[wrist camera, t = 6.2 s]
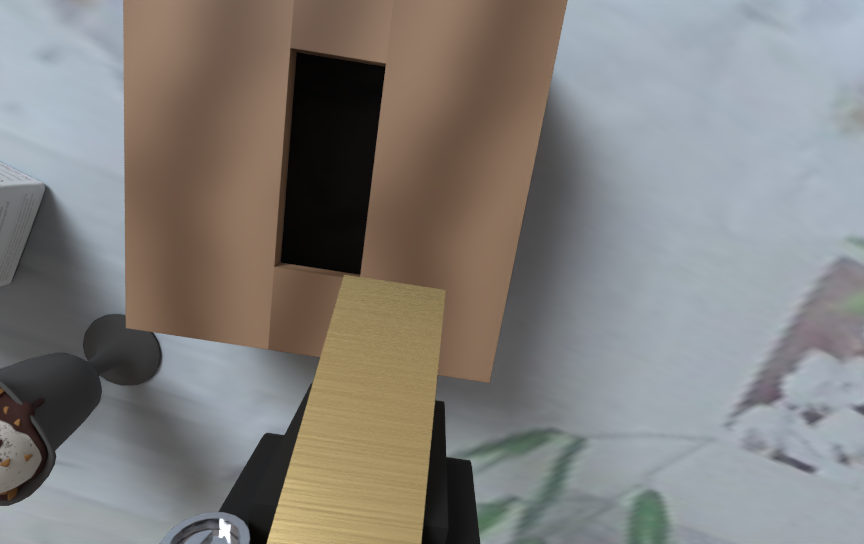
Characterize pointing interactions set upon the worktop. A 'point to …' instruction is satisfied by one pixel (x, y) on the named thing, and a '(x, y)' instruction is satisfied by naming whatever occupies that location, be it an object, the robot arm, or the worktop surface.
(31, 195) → the supplement box
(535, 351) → the worktop surface
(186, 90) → the brown slotted wooden box
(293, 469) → the tan rectangular block
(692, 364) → the worktop surface
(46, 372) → the sundae
